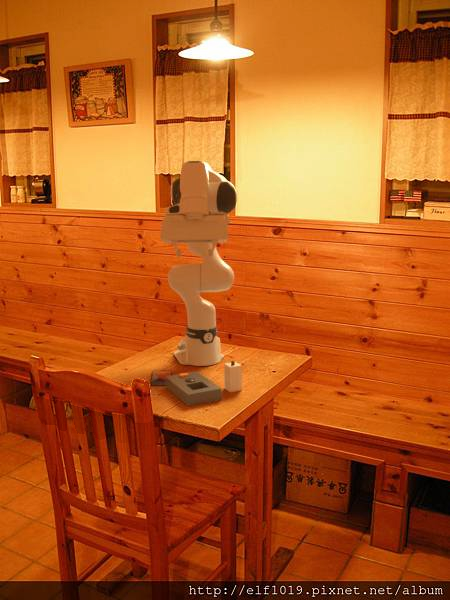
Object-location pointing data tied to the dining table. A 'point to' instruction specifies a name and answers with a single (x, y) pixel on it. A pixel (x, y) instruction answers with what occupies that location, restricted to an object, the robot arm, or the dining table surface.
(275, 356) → the dining table surface
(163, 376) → the smartphone
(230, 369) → the block with round knob
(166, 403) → the dining table surface
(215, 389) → the grey rectangular box
